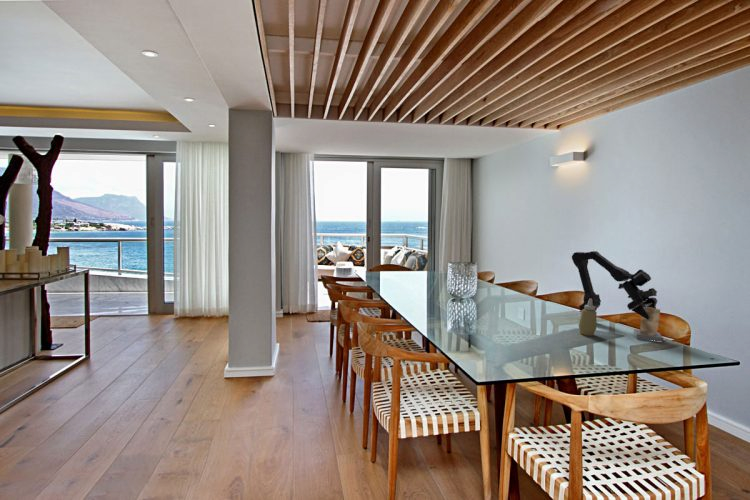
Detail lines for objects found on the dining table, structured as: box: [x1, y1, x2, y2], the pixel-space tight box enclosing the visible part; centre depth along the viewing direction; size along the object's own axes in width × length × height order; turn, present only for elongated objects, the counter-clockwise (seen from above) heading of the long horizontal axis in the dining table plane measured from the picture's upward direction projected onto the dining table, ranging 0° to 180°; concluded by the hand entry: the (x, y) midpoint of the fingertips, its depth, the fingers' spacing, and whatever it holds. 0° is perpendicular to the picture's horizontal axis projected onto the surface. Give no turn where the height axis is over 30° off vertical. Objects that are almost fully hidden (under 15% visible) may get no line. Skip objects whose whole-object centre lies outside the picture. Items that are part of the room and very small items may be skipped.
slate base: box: [633, 328, 664, 342], centre depth 224 cm, size 11×11×2 cm
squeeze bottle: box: [578, 299, 597, 337], centre depth 223 cm, size 8×8×18 cm
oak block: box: [639, 307, 661, 335], centre depth 223 cm, size 6×6×12 cm
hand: (653, 318), depth 221 cm, fingers open, 9 cm apart
